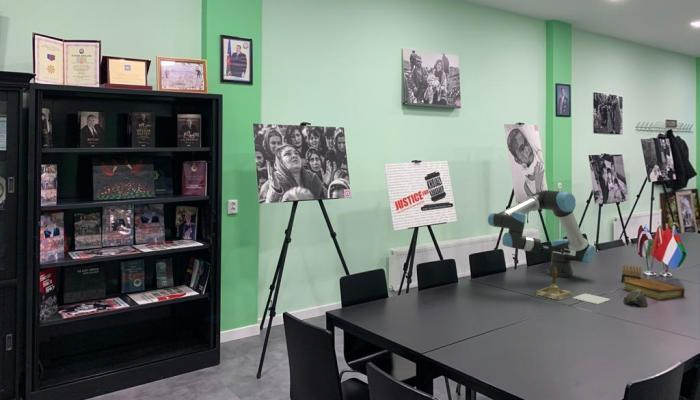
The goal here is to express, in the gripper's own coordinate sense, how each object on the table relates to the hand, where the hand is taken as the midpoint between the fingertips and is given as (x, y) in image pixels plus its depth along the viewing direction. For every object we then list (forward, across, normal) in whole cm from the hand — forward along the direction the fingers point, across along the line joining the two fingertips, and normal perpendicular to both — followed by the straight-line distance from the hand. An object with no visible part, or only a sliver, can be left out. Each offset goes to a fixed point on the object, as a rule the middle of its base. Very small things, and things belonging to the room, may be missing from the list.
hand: (570, 252), depth 275 cm
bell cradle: (-3, -3, -25) cm, 25 cm away
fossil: (+33, +10, -20) cm, 40 cm away
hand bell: (-3, -4, -25) cm, 26 cm away
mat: (+15, +2, -22) cm, 27 cm away
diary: (+54, -11, -13) cm, 57 cm away
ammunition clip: (+53, -32, -10) cm, 62 cm away
